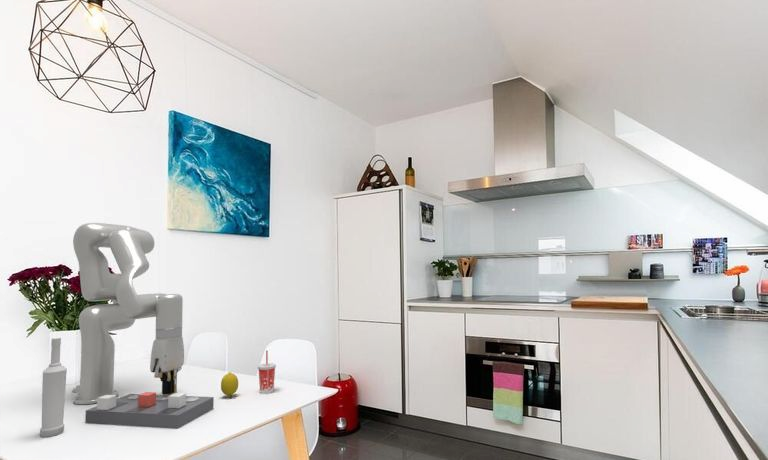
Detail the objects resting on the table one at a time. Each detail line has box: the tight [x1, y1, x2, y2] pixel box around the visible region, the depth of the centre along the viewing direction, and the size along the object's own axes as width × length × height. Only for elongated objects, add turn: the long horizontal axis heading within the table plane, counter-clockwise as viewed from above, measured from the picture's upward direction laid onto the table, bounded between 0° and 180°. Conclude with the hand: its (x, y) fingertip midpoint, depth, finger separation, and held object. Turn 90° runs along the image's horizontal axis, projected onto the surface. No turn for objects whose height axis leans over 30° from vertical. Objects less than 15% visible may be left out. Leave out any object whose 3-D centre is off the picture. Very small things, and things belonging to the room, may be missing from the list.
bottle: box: [39, 337, 68, 438], centre depth 113 cm, size 5×5×25 cm
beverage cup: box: [257, 350, 277, 395], centre depth 146 cm, size 6×6×14 cm
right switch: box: [168, 392, 187, 408], centre depth 121 cm, size 4×3×3 cm
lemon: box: [220, 372, 239, 398], centre depth 141 cm, size 6×6×8 cm
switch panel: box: [84, 393, 215, 429], centre depth 124 cm, size 30×16×4 cm, turn 78°
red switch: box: [138, 391, 157, 407], centre depth 123 cm, size 4×3×3 cm
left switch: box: [96, 395, 117, 410], centre depth 121 cm, size 4×3×3 cm
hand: (168, 393), depth 131 cm, fingers closed
